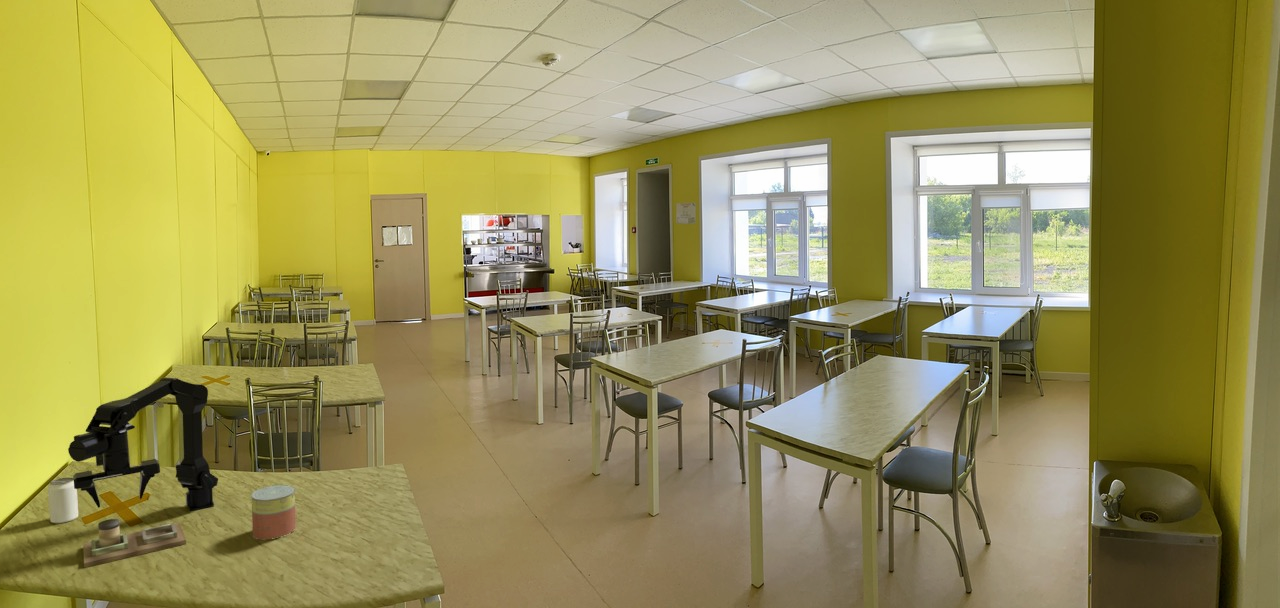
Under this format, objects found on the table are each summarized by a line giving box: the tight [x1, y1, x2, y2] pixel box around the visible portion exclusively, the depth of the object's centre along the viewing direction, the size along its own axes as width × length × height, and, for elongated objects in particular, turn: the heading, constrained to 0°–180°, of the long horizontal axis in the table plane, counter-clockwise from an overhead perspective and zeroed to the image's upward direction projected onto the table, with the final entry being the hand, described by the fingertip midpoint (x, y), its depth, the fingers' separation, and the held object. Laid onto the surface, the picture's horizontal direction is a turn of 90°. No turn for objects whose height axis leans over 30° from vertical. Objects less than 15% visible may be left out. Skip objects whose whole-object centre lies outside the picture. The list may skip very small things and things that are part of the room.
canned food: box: [250, 484, 297, 540], centre depth 196 cm, size 11×11×12 cm
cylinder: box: [97, 518, 121, 548], centre depth 182 cm, size 4×4×7 cm
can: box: [47, 477, 79, 524], centre depth 200 cm, size 6×6×12 cm
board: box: [82, 522, 187, 568], centre depth 186 cm, size 22×14×3 cm, turn 130°
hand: (120, 502), depth 187 cm, fingers open, 9 cm apart
